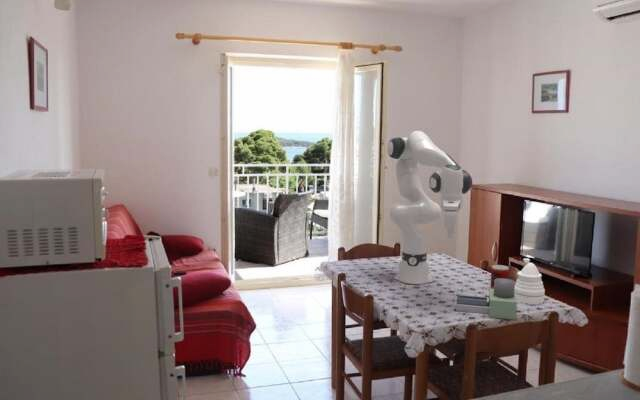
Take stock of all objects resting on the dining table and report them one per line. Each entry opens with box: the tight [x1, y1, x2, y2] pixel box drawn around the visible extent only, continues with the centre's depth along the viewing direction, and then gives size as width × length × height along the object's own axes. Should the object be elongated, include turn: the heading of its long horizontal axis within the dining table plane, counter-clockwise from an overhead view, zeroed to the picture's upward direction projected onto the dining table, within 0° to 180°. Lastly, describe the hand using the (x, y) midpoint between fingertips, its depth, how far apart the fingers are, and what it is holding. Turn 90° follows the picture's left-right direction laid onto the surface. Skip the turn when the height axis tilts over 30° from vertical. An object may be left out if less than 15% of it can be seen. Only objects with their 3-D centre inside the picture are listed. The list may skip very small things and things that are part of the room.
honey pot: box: [514, 258, 546, 305], centre depth 243 cm, size 13×13×18 cm
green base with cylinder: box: [455, 278, 518, 320], centre depth 229 cm, size 17×23×13 cm
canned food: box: [490, 264, 510, 289], centre depth 258 cm, size 8×8×11 cm
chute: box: [456, 294, 488, 307], centre depth 231 cm, size 5×12×5 cm, turn 74°
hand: (450, 235), depth 236 cm, fingers open, 8 cm apart
